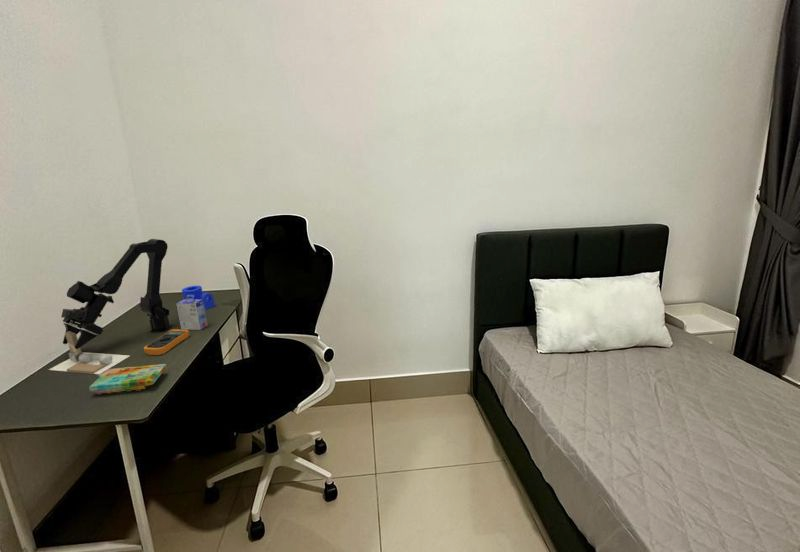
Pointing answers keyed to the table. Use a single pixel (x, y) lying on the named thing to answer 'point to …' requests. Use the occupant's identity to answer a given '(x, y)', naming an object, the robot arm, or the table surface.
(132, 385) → the puzzle game
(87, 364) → the board
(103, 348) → the table surface
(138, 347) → the table surface
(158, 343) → the multimeter
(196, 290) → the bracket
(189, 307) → the ink cartridge box
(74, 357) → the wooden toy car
